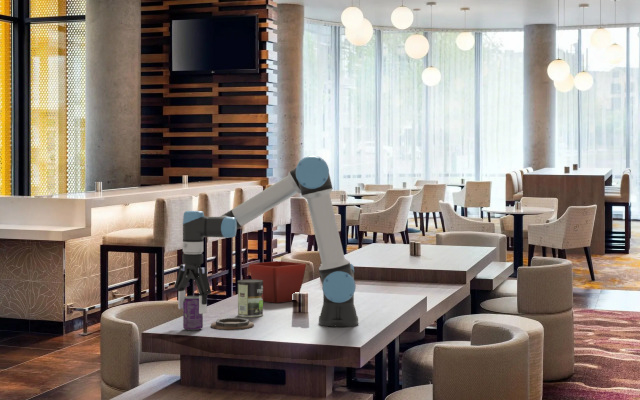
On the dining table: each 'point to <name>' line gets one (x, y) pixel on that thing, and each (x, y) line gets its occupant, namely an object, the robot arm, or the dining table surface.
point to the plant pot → (278, 279)
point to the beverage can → (192, 314)
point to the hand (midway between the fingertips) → (192, 310)
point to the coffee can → (250, 298)
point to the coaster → (232, 324)
